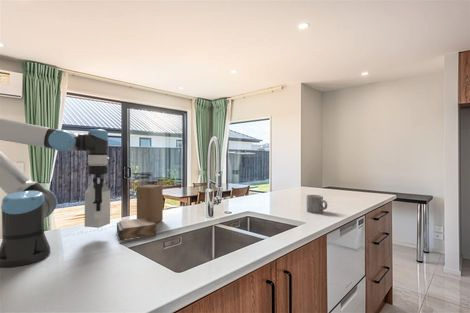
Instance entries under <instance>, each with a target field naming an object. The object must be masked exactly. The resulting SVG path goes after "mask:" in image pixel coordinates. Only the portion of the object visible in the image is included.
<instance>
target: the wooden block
mask: <svg viewBox="0 0 470 313" xmlns="http://www.w3.org/2000/svg"><path fill="white" fill-rule="evenodd" d="M163 200H164V198H163V185H161V184H144V185H138V186H137V187H136V219H141V218H149V217H150V218H151V219H152V221H153V222H154V223H155V224H158V223H161V222H163V215H164V214H163V212H164V211H163V203H164V202H163Z"/></svg>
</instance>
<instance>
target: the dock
mask: <svg viewBox="0 0 470 313" xmlns="http://www.w3.org/2000/svg"><path fill="white" fill-rule="evenodd" d="M116 233H118V234H117V236H118V238H119V241H120V240H121V241H126V240H125V239H127V240H132V239H131V238H133V239H138V238H137V237H140V238H145V237H151V236H156V235H157V223H154V222H153V221H152V219H151V218H150V217H149V218H141V219H137V218H135V219H134V218H133V219H125V220H119V222H118V221H117V222H116Z"/></svg>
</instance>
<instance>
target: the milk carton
mask: <svg viewBox="0 0 470 313" xmlns="http://www.w3.org/2000/svg"><path fill="white" fill-rule="evenodd" d="M97 200H99V199H97ZM93 202H95V189H94V183H93V181H91V182H90V185H89V186H88V187H87V188H86V190H85V191H84V227H86V228H98V229H99V228H102V227H104V226H106V225H110V224H111V189H110V188H109V187H108V186H107V185H106V181H103V187H102V218H100V219H94V205H95V204H93Z"/></svg>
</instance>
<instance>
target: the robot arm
mask: <svg viewBox="0 0 470 313" xmlns="http://www.w3.org/2000/svg"><path fill="white" fill-rule="evenodd" d="M108 133H109V132H108V131H107V130H105V129H98V128H97V129H96V128H95V129H94V128H93V129H92V128H91V129H88V132H87V133H74V132H71V131H69V130H64V129H57V128H52V127H47V126H43V125H42V126H41V125H38V124H31V123H27V122H21V121H17V120H11V119H7V118H6V119H5V118H1V117H0V141H4V142H10V143H16V144H20V145H21V144H22V145H27V146H35V147H40V148H46V149H49V150H55V151H58V152H88V155H87V163H88V166H87V168H88V169H87V173H88V175H94V177H93V178H92V182H93V183H94V189H95V202H93V204H95V205H94V219H100V218H102V187H103V182H104V178H103V177H102V175H106V174H108V173H109V172H108V170H109V169H108V162H109V161H108V160H110V157H108V156H109V135H108ZM0 189H1V190H2V191H3V192H4V193H5V194H7V195H5V196H4V197H3V198H2V200H1V206H0V209H1V230H2V231H1V233H2V236H1V237H2V240H1V243H0V268H13V267H15V268H16V267H20V266H26V265H29V264H33V263H36V262H39V261H42V260H44V259H46V258H48V257H49V256H50V255H51V246H50V243H49V241H48V239H47V237H46V235H45V234H46V233H45V218H48V217H50V215H52V214H53V212H54V211H55V209H56V207H57V206H58V199H57V196H56V194H55V193H54V192H52V191H51V190H49V189H46V188H44V187H43V186H42V185H41V183H40V182H38V181H32V180H30V179H29V178H28V177H27V175H25V174H24V173H23V172H22V170H20V169H19V168H18V167H17V166H16V164H15V163H14V162H12V161H11V159H9V157H7V155H6V154H5V153H3V152H2V150H0ZM97 199H99V200H97Z"/></svg>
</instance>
